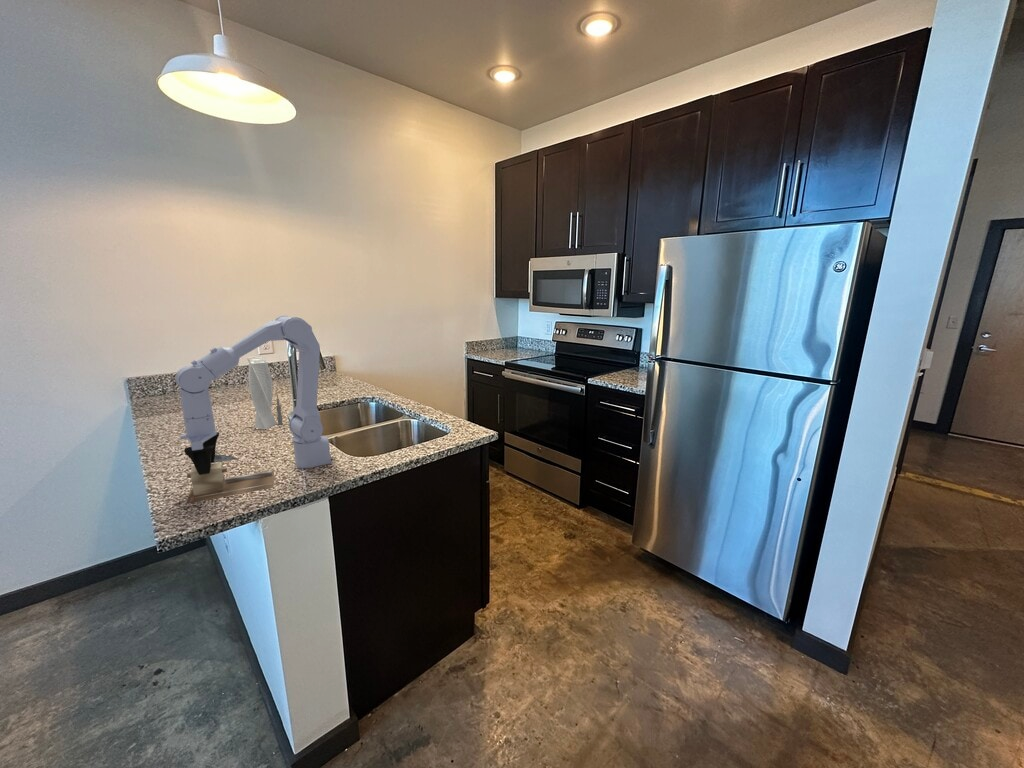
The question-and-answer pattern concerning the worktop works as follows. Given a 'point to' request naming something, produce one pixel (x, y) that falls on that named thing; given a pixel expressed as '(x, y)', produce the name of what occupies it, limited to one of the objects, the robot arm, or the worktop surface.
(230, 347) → the robot arm
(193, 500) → the board
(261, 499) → the worktop surface
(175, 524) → the worktop surface
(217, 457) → the driftwood
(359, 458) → the worktop surface
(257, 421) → the skyscraper
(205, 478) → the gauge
